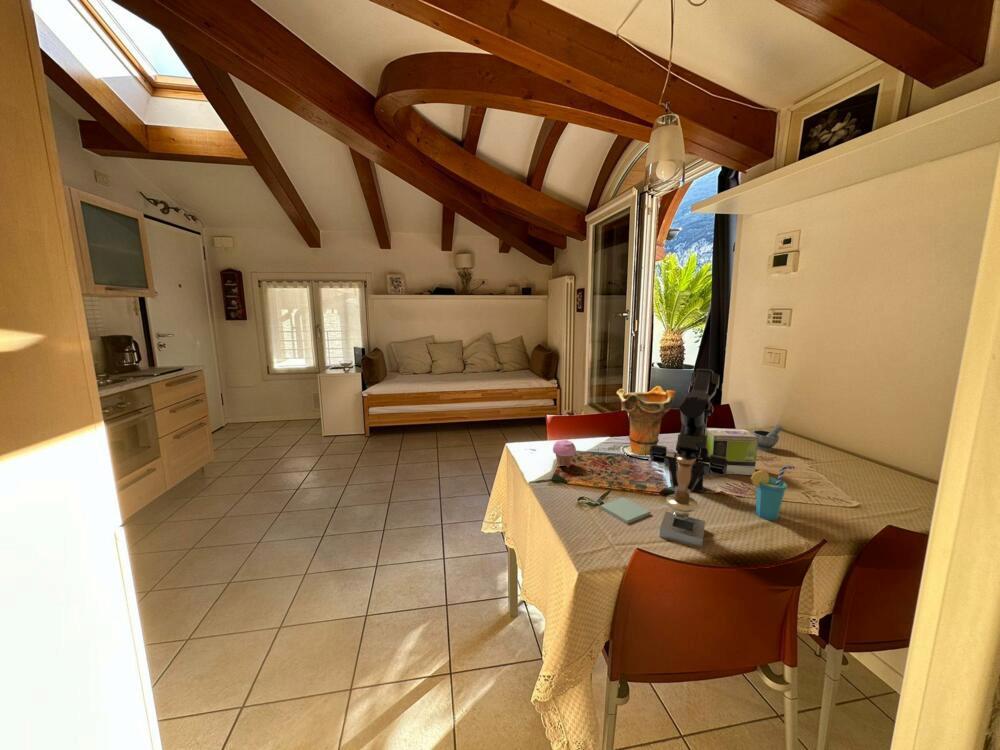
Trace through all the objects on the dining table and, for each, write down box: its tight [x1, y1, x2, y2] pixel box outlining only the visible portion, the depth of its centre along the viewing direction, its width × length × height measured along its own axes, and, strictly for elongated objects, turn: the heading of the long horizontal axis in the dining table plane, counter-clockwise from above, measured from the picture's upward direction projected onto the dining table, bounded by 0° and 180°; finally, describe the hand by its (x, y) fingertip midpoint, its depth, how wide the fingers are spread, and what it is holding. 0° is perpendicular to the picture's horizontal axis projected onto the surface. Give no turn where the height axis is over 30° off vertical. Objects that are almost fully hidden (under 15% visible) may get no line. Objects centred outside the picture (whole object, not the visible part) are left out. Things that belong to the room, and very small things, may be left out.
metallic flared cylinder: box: [665, 455, 699, 518], centre depth 105 cm, size 8×8×16 cm
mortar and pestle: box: [751, 424, 784, 453], centre depth 171 cm, size 11×9×12 cm
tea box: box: [705, 427, 758, 476], centre depth 150 cm, size 15×10×15 cm, turn 82°
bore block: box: [658, 511, 706, 549], centre depth 107 cm, size 10×10×3 cm
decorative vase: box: [616, 385, 677, 456], centre depth 165 cm, size 21×23×28 cm
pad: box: [599, 497, 652, 525], centre depth 118 cm, size 10×10×2 cm
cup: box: [750, 465, 795, 521], centre depth 116 cm, size 14×8×15 cm, turn 107°
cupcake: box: [552, 439, 577, 467], centre depth 152 cm, size 9×9×10 cm
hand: (682, 488), depth 104 cm, fingers closed on metallic flared cylinder, 4 cm apart
